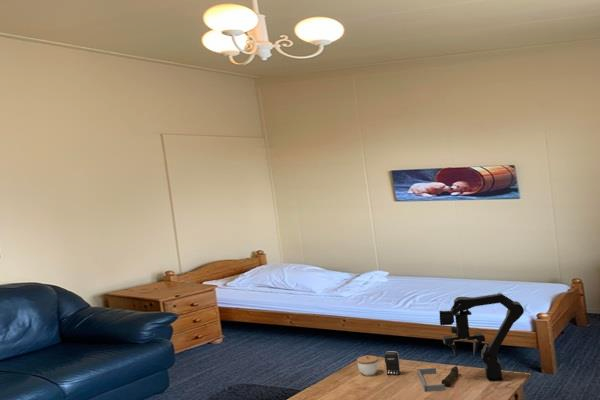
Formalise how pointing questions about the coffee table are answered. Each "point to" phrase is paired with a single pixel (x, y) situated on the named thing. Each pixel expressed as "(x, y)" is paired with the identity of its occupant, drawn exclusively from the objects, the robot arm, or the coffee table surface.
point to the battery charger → (392, 363)
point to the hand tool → (450, 377)
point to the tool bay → (429, 387)
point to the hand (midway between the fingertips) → (465, 356)
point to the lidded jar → (368, 365)
